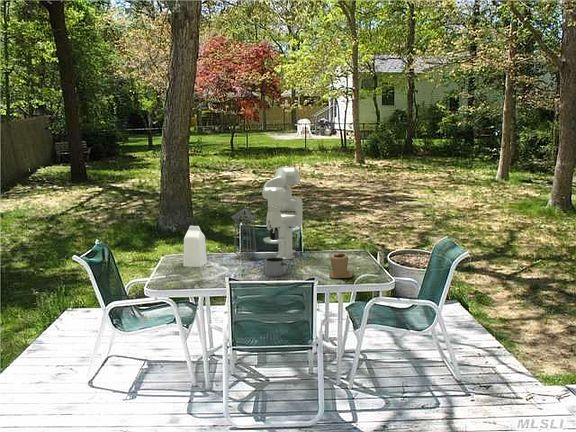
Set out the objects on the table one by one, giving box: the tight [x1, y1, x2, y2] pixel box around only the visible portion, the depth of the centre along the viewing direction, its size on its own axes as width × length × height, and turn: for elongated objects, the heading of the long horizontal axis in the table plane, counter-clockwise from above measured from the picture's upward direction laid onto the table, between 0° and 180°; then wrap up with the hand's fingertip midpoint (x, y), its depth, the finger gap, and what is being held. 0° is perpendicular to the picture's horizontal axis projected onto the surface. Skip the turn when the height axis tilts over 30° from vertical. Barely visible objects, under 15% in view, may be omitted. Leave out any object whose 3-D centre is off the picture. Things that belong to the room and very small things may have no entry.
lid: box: [262, 230, 286, 245], centre depth 339 cm, size 14×14×7 cm
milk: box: [182, 225, 208, 268], centre depth 366 cm, size 12×12×26 cm
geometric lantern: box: [231, 208, 259, 261], centre depth 383 cm, size 16×16×35 cm
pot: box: [262, 256, 288, 277], centre depth 342 cm, size 12×17×9 cm
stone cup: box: [328, 252, 354, 279], centre depth 332 cm, size 15×12×15 cm
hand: (274, 238), depth 340 cm, fingers closed on lid, 3 cm apart
